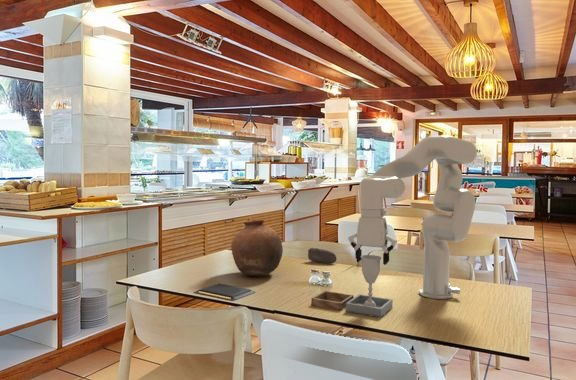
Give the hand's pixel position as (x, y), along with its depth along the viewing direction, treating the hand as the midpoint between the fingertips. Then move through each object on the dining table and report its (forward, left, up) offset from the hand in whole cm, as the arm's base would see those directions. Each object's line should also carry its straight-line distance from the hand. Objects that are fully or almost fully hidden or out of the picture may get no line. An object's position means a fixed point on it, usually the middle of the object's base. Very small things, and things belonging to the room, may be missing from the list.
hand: (372, 262), depth 167 cm
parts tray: (0, +1, -17) cm, 17 cm away
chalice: (0, +1, -16) cm, 16 cm away
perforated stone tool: (+46, -59, -17) cm, 77 cm away
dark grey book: (+56, +10, -18) cm, 60 cm away
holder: (+14, +1, -17) cm, 22 cm away
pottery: (+61, -21, -17) cm, 67 cm away
